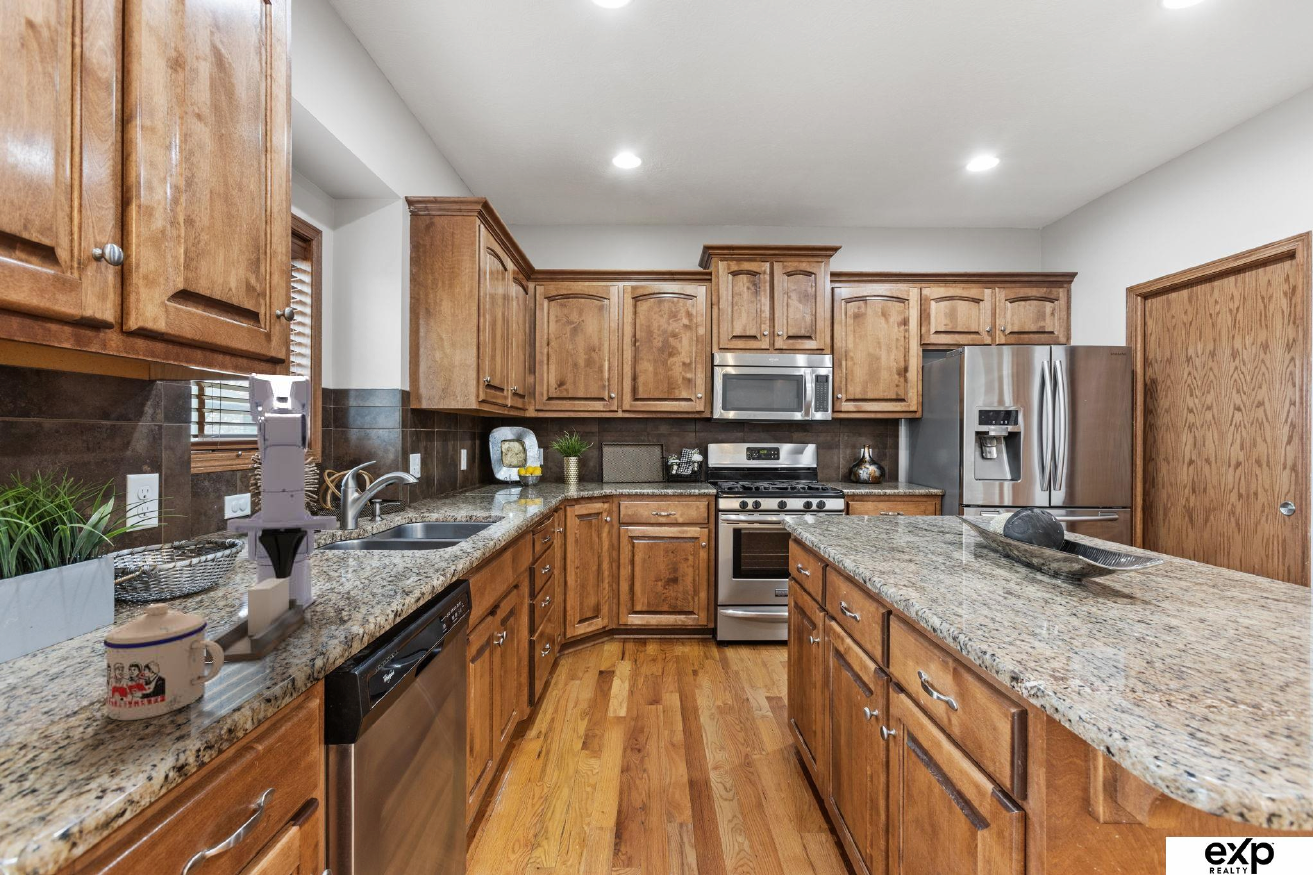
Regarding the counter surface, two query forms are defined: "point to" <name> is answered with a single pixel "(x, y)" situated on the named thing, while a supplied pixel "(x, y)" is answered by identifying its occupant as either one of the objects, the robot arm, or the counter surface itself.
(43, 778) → the counter surface
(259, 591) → the beige rectangular block
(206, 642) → the teacup with lid
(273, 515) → the robot arm
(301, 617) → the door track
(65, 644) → the counter surface
